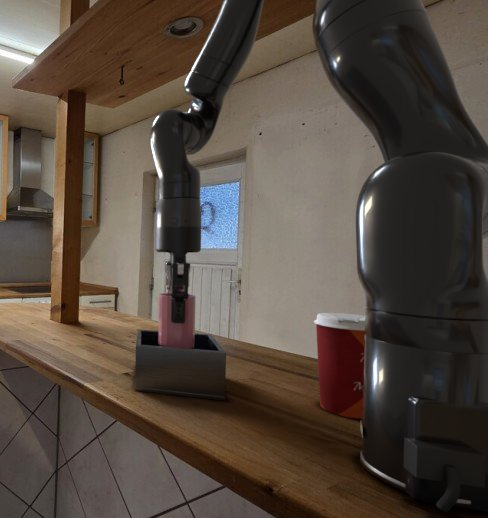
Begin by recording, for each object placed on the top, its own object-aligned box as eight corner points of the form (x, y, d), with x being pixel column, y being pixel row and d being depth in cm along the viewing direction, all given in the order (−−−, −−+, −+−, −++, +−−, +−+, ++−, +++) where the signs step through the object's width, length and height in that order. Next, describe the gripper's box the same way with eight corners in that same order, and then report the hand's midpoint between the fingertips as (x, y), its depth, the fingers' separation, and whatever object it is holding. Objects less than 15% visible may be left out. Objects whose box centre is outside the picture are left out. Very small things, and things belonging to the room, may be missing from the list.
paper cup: (383, 427, 50) (386, 323, 49) (311, 412, 54) (314, 316, 54) (375, 408, 56) (378, 315, 56) (311, 395, 61) (313, 310, 60)
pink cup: (196, 350, 63) (197, 297, 63) (158, 347, 65) (159, 296, 65) (192, 342, 69) (193, 293, 69) (157, 339, 71) (158, 292, 70)
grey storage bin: (225, 400, 58) (226, 352, 58) (135, 390, 62) (135, 345, 62) (210, 373, 71) (211, 334, 71) (136, 366, 75) (137, 329, 75)
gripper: (207, 222, 58) (205, 329, 59) (195, 228, 72) (194, 314, 72) (156, 223, 61) (155, 325, 61) (154, 228, 74) (153, 312, 75)
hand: (176, 319), depth 67 cm, fingers closed on pink cup, 6 cm apart
